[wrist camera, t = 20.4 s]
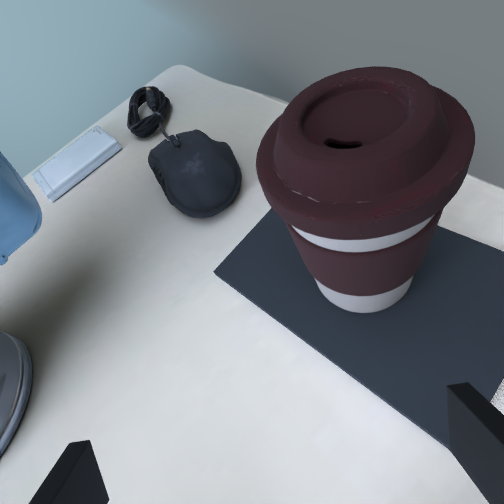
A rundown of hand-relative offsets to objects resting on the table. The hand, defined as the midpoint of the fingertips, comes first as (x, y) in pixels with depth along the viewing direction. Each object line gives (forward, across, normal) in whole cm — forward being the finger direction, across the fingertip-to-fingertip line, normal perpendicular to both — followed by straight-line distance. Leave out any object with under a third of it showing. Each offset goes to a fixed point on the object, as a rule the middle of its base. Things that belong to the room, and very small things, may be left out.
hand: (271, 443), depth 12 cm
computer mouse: (+37, -8, +15) cm, 40 cm away
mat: (+16, +8, 0) cm, 18 cm away
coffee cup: (+15, +8, 0) cm, 18 cm away
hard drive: (+42, -24, +15) cm, 51 cm away
